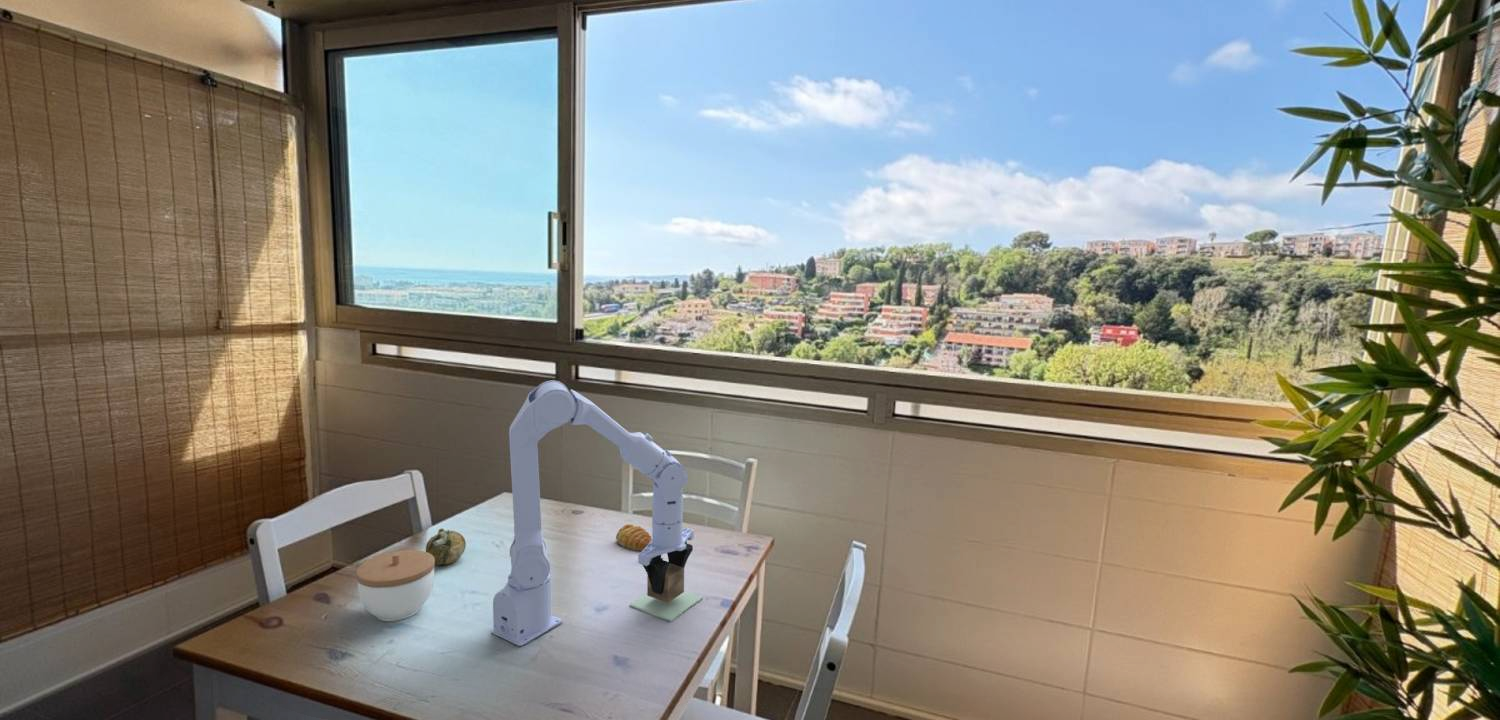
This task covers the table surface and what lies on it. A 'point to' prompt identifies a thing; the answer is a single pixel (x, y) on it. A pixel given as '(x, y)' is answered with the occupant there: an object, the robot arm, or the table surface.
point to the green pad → (666, 605)
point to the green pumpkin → (446, 546)
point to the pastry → (633, 537)
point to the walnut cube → (669, 584)
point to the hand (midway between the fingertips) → (666, 586)
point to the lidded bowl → (396, 583)
